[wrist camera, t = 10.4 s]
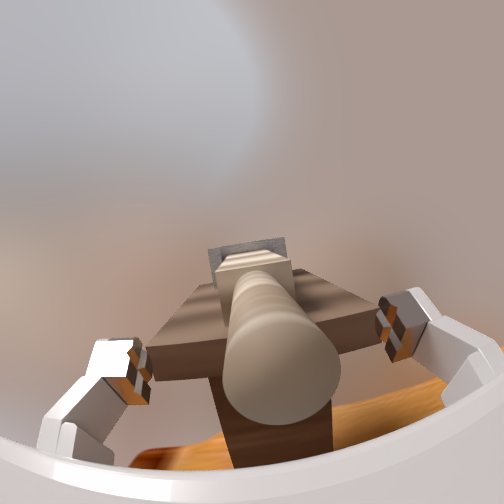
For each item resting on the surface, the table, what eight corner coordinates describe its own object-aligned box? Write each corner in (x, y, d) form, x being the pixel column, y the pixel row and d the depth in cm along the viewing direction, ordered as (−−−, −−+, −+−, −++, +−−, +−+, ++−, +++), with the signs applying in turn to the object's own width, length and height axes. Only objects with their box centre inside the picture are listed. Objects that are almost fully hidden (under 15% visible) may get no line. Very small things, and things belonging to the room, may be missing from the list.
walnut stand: (358, 538, 15) (380, 307, 13) (239, 560, 14) (145, 346, 13) (318, 438, 35) (301, 268, 33) (238, 451, 34) (200, 284, 33)
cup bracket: (290, 277, 28) (284, 237, 28) (214, 289, 28) (207, 249, 28) (282, 271, 33) (277, 237, 33) (218, 282, 33) (212, 247, 33)
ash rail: (371, 410, 6) (368, 292, 5) (205, 442, 5) (172, 326, 5) (269, 276, 31) (265, 249, 31) (232, 282, 31) (228, 255, 31)
